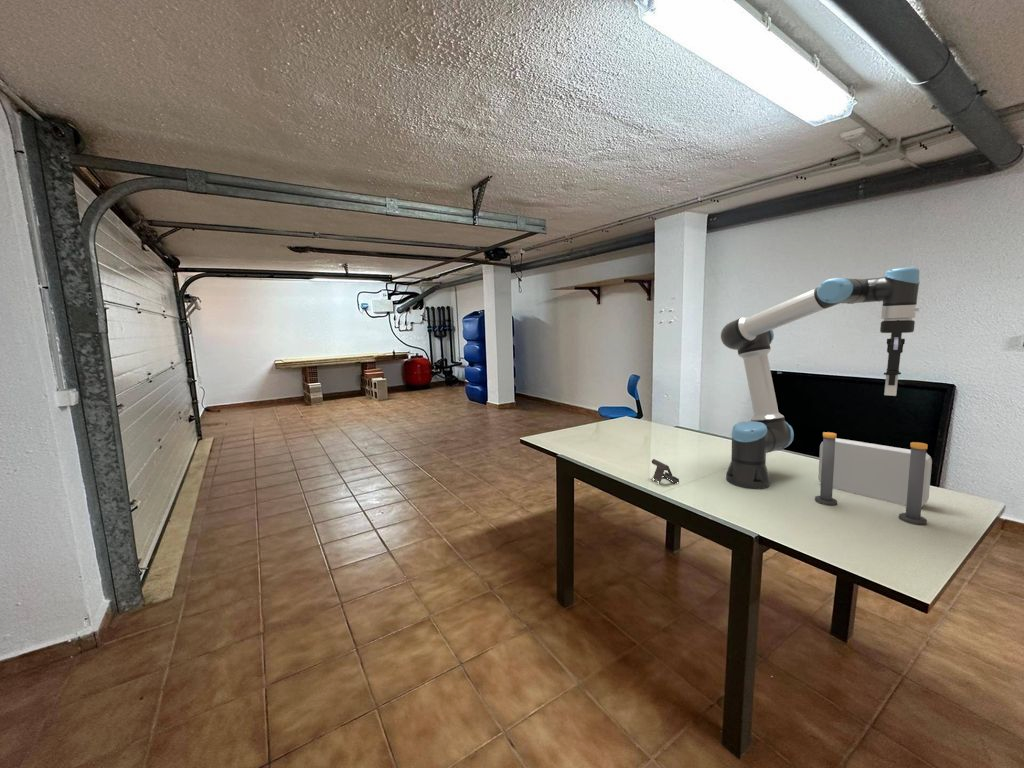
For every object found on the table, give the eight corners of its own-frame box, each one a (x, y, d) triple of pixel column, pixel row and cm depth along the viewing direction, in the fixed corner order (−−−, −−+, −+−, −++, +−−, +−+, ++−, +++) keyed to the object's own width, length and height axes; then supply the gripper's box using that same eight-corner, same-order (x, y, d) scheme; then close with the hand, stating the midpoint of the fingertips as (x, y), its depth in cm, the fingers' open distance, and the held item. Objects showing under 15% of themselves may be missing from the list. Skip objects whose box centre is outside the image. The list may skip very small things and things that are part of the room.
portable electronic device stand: (679, 484, 156) (679, 463, 156) (661, 486, 155) (662, 466, 154) (665, 476, 165) (665, 457, 164) (649, 479, 163) (649, 459, 162)
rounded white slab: (929, 504, 131) (934, 451, 129) (923, 510, 127) (928, 456, 124) (825, 480, 155) (828, 435, 152) (817, 484, 150) (820, 438, 148)
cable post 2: (898, 520, 120) (904, 444, 118) (899, 514, 125) (905, 440, 122) (926, 527, 116) (934, 447, 113) (926, 519, 120) (933, 443, 117)
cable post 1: (813, 502, 135) (816, 434, 132) (816, 496, 140) (819, 430, 137) (835, 507, 131) (839, 436, 128) (838, 501, 135) (842, 433, 132)
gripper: (916, 319, 114) (907, 399, 117) (913, 319, 123) (905, 393, 126) (881, 320, 119) (873, 397, 122) (881, 320, 128) (874, 391, 131)
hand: (890, 395), depth 124 cm, fingers closed
